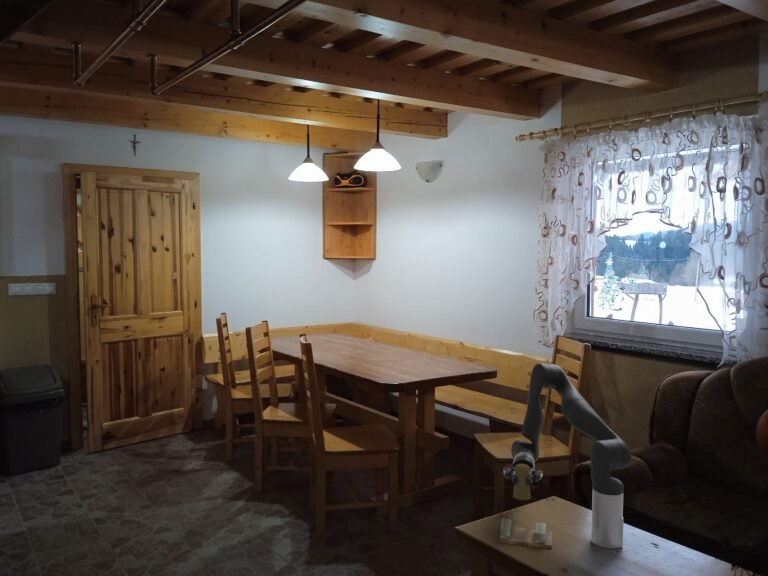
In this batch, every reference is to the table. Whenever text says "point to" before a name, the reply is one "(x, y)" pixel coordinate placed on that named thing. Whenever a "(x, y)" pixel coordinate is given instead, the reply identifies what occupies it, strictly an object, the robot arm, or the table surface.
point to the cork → (521, 482)
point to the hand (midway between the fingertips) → (521, 482)
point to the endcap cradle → (525, 535)
